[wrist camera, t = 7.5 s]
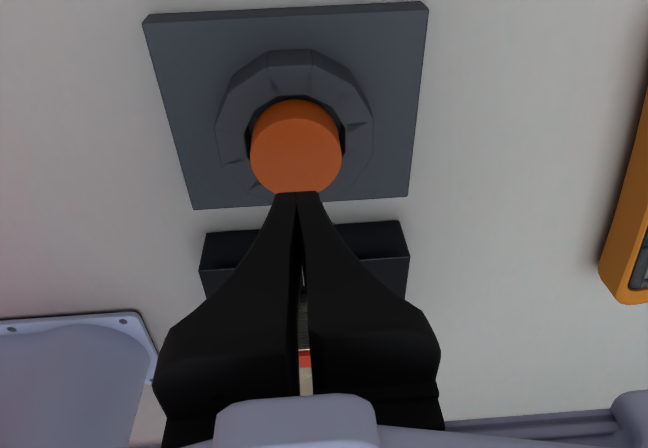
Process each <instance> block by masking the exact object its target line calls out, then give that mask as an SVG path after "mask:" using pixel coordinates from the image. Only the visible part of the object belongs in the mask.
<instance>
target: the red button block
mask: <svg viewBox="0 0 648 448" xmlns="http://www.w3.org/2000/svg"><path fill="white" fill-rule="evenodd" d="M298 347H299V374H300V396H307V395H313V386H312V372H311V360H310V348H309V336H308V312H307V296H306V293H304V294H300V301H299V316H298Z"/></svg>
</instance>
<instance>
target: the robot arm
mask: <svg viewBox="0 0 648 448" xmlns="http://www.w3.org/2000/svg"><path fill="white" fill-rule="evenodd" d="M301 269H302V270H303V276H304V283H305V289H306V296H307V312H308V336H309V348H310V360H311V372H312V386H313V395H307V396H300V374H299V347H298V316H299V301H300V285H301ZM440 359H441V350H440V347H439V343H438V341H437V338H436V336H435V334H434V332H433V330H432V328H431V326H430V324H429V322H428V320H427V319H426V317H425V315H424V314H423V312H422V311H421V310H420V309H418V308H417V307H415V306H413V305H412V304H410V303H409V302H407V301H406V300H404V299H403V298H401V297H400V296H398V295H397V294H396V293H394V292H393V291H392V290H391V289H389V288H388V287H387V286H386V285H385V284H384V283H382V282H381V281H380V280H379V279H378V278H377V277H376V276H375V275H373V274H372V273H371V272H370V271H369V270H368V269H367V268H366V267H365V266H364V265H363V264H362V262H361V261H360V260H359V259H358V258H357V257H356V256H355V255H354V253H353V252H352V251H351V250H350V248H349V247H348V246H347V244H346V243H345V242H344V240H343V239H342V238H341V236H340V235H339V233H338V232H337V230H336V228H335V227H334V225H333V224H332V222H331V220H330V218H329V217H328V215H327V213H326V211H325V209H324V207H323V205H322V202H321V199H320V197H319V193H318V192H317V191H299V192H283V193H277V194H276V195H275V197H274V200H273V203H272V206H271V209H270V211H269V213H268V216H267V218H266V220H265V222H264V224H263V226H262V228H261V230H260V232H259V233H258V235H257V237H256V239H255V240H254V242H253V243H252V245H251V247H250V248H249V250H248V251H247V253H246V254H245V256H244V257H243V259H242V260H241V261H240V263H239V264H238V265H237V267H236V268H235V269H234V271H233V272H232V273H231V274H230V275H229V276H228V278H227V279H226V280H225V281H224V282H223V283H222V284H221V286H220V287H219V288H218V289H217V290H216V291H215V292H214V293H213V294H212V295H211V296H209V297H208V298H207V299H206V300H205V301H204V302H203V303H202V304H201V305H200V306H199V307H198V308H197V309H195V310H194V311H193V312H192V313H190V314H189V315H188V316H187V317H185V318H184V319H183V320H181V321H180V322H179V323H177V324H176V325H175V326H173V327H172V328H170V330H169V332H168V334H167V336H166V339H165V341H164V343H163V346H162V348H161V351H160V353H159V356H158V354H157V351H156V349H155V347H154V345H153V343H152V341H151V339H150V336H149V334H148V332H147V330H146V328H145V326H144V323H143V321H142V319H141V317H140V315H139V314H137V313H136V312H118V313H104V314H90V315H75V316H61V317H47V318H33V319H18V320H4V321H0V448H648V390H636V391H629V392H626V393H623V394H621V395H619V396H618V397H617V398H616V399H615V400H614V402H613V404H612V406H611V408H610V409H597V410H584V411H572V412H559V413H546V414H534V415H521V416H508V417H496V418H483V419H471V420H458V421H445V422H444V419H443V416H442V412H441V409H440V405H439V402H438V397H439V390H438V387H437V383H436V376H437V372H438V367H439V363H440ZM145 384H152V388H153V392H154V394H155V396H156V398H157V400H158V402H159V403H160V405H161V407H162V409H163V411H164V413H165V415H166V417H167V421H166V426H165V431H164V435H163V440H162V444H155V445H142V446H129V447H127V446H128V442H129V438H130V435H131V431H132V427H133V424H134V420H135V416H136V412H137V409H138V405H139V401H140V397H141V394H142V390H143V386H144V385H145Z"/></svg>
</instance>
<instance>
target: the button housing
mask: <svg viewBox="0 0 648 448" xmlns="http://www.w3.org/2000/svg"><path fill="white" fill-rule="evenodd" d="M428 14H429V9H428V8H427V7H426V6H425V5H424V3H423V2H421V1H418V2H398V3H377V4H356V5H336V6H315V7H294V8H274V9H253V10H232V11H211V12H191V13H170V14H150V15H148V16H147V17H146V19H145V20H144V21H143V22H142V27H143V31H144V34H145V38H146V42H147V45H148V49H149V52H150V56H151V60H152V63H153V67H154V70H155V74H156V78H157V81H158V85H159V89H160V92H161V96H162V99H163V103H164V107H165V110H166V114H167V117H168V121H169V125H170V128H171V132H172V136H173V139H174V143H175V146H176V150H177V154H178V157H179V161H180V164H181V168H182V172H183V175H184V179H185V183H186V186H187V190H188V193H189V197H190V201H191V204H192V208H193V210H202V209H218V208H234V207H250V206H266V205H272V203H273V200H274V197H275V195H276V193H274V192H272V191H270V190H268V189H267V188H266V187H264V186H263V185H262V184H261V183H260V182H259V181H258V179H257V178H256V176H255V175H254V173H253V171H252V168H251V164H250V150H251V142H252V133H253V128H254V125H255V123H256V121H257V119H258V117H259V116H260V115H261V114H262V113H263V112H264V111H265V110H266V109H267V108H268V107H270V106H271V105H273V104H275V103H278V102H280V101H284V100H289V99H301V100H306V101H310V102H313V103H315V104H317V105H319V106H321V107H322V108H323V109H325V110H326V111H327V112H328V113H329V114H330V116H331V117H332V118H333V120H334V122H335V124H336V127H337V131H338V136H339V141H340V146H341V152H342V163H341V168H340V170H339V173H338V174H337V176H336V178H335V179H334V180H333V182H332V183H331V184H330V185H329V186H328V187H326V188H325V189H323V190H322V191H320V192H318V193H319V197H320V199H321V202H329V201H345V200H361V199H377V198H393V197H407V196H408V188H409V180H410V171H411V162H412V153H413V145H414V136H415V127H416V118H417V110H418V101H419V92H420V84H421V75H422V66H423V57H424V49H425V40H426V31H427V22H428Z"/></svg>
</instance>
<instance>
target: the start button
mask: <svg viewBox="0 0 648 448" xmlns="http://www.w3.org/2000/svg"><path fill="white" fill-rule="evenodd" d="M341 163H342V152H341V146H340V141H339V136H338V131H337V127H336V124H335V122H334V120H333V118H332V117H331V116H330V114H329V113H328V112H327V111H326V110H325V109H323V108H322V107H321V106H319V105H317V104H315V103H313V102H310V101H306V100H301V99H289V100H284V101H280V102H278V103H275V104H273V105H271V106H270V107H268V108H267V109H266V110H265V111H264V112H263V113H262V114H261V115H260V116H259V117H258V119H257V121H256V123H255V125H254V128H253V133H252V142H251V150H250V164H251V168H252V171H253V173H254V175H255V176H256V178H257V179H258V181H259V182H260V183H261V184H262V185H263V186H264V187H266V188H267V189H268V190H270V191H272V192H274V193H276V194H277V193H283V192H299V191H317V192H320V191H322V190H323V189H325V188H326V187H328V186H329V185H330V184H331V183H332V182H333V180H334V179H335V178H336V176H337V174H338V173H339V170H340V168H341Z"/></svg>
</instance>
